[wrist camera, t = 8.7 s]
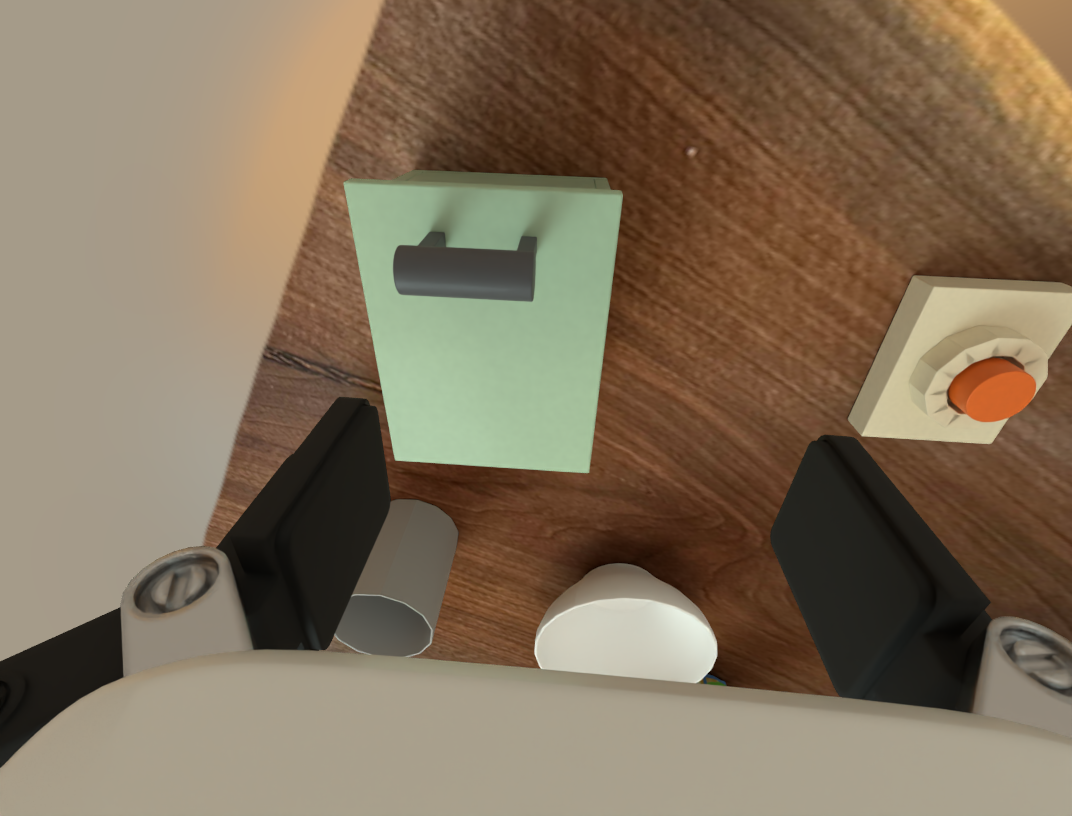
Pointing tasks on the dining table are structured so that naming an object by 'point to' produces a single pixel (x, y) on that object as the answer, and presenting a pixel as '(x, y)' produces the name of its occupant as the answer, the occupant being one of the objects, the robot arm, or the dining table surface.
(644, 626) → the bowl
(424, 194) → the lid
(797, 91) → the dining table surface
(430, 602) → the cup
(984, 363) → the button
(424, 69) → the dining table surface
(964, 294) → the panel
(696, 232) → the dining table surface
